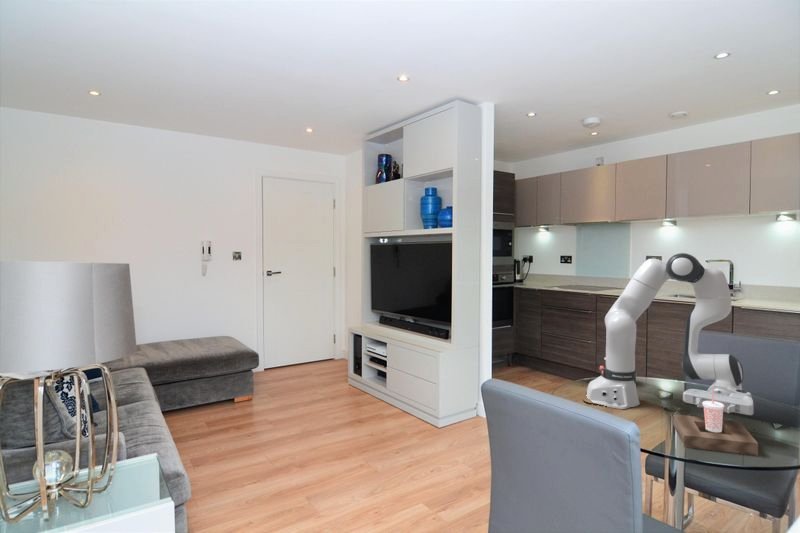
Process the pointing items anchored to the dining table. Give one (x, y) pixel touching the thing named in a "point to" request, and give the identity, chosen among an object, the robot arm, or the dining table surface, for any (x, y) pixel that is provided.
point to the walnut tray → (715, 435)
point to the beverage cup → (713, 414)
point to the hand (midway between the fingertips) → (712, 408)
